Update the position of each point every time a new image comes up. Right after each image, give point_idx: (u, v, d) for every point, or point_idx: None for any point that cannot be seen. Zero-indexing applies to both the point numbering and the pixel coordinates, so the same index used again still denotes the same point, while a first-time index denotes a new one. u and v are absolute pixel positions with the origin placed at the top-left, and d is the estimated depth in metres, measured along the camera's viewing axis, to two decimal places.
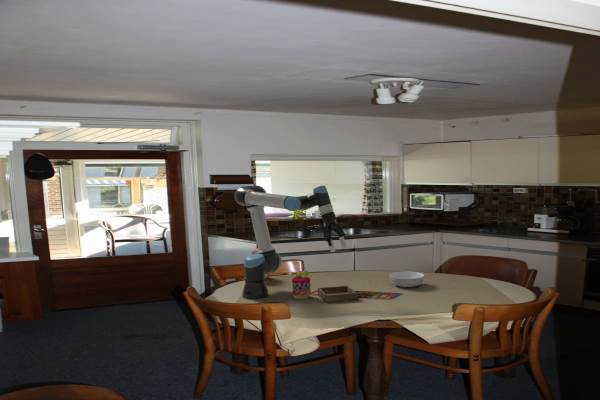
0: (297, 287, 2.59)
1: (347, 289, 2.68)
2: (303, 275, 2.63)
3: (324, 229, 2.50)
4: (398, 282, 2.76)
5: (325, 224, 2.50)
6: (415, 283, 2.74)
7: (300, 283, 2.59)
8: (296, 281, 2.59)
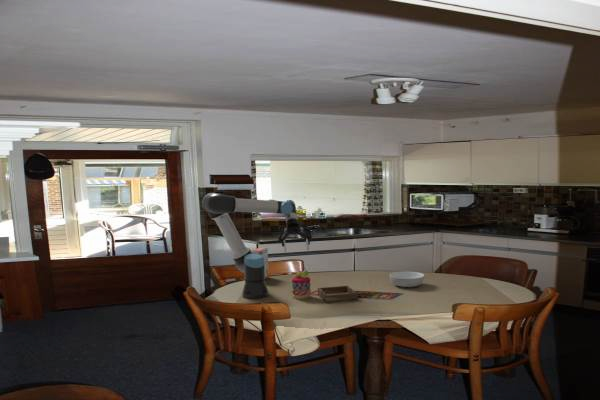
0: (297, 287, 2.59)
1: (347, 289, 2.68)
2: (303, 275, 2.63)
3: None
4: (398, 282, 2.76)
5: None
6: (415, 283, 2.74)
7: (300, 283, 2.59)
8: (296, 281, 2.59)
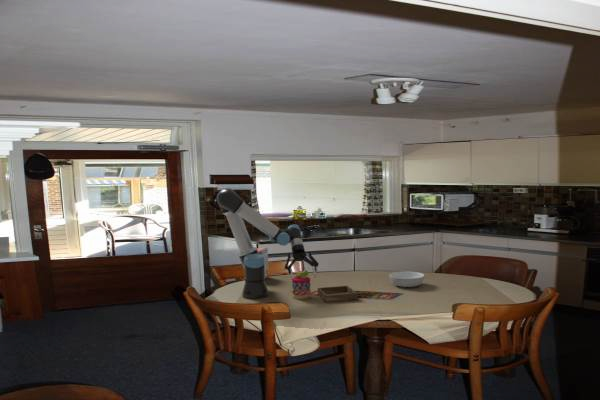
0: (297, 287, 2.59)
1: (347, 289, 2.68)
2: (303, 275, 2.63)
3: None
4: (398, 282, 2.76)
5: None
6: (415, 283, 2.74)
7: (300, 283, 2.58)
8: (296, 281, 2.59)
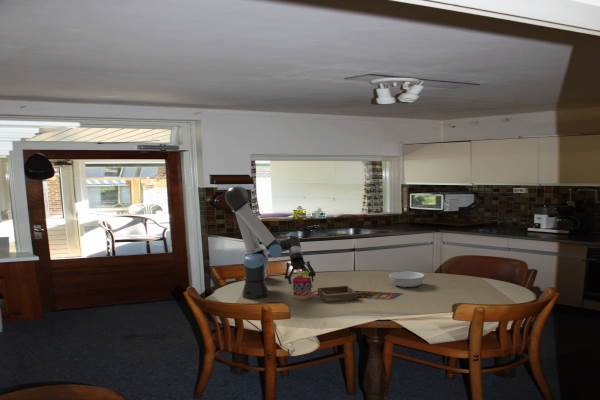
0: (299, 287, 2.58)
1: (347, 289, 2.68)
2: (304, 275, 2.62)
3: None
4: (398, 282, 2.76)
5: None
6: (415, 283, 2.74)
7: (302, 283, 2.58)
8: (298, 281, 2.58)
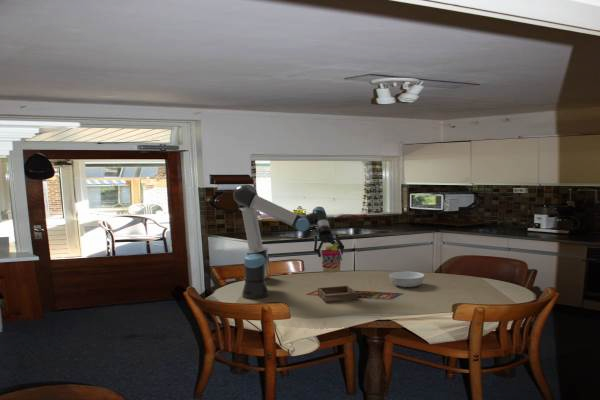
0: (329, 260, 2.55)
1: (347, 289, 2.68)
2: (333, 248, 2.59)
3: None
4: (398, 282, 2.76)
5: None
6: (415, 283, 2.74)
7: (332, 256, 2.54)
8: (328, 254, 2.55)
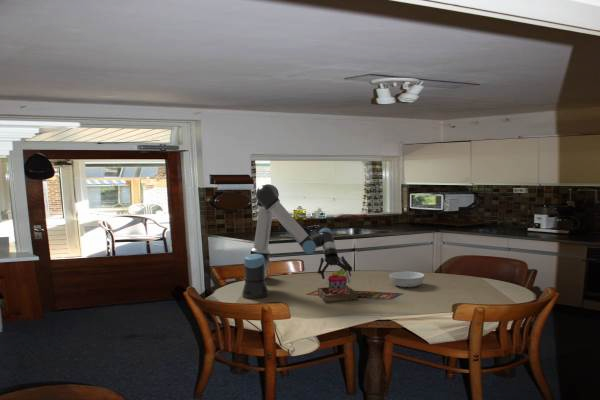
0: (335, 286, 2.55)
1: (347, 289, 2.68)
2: (339, 274, 2.59)
3: None
4: (398, 282, 2.76)
5: None
6: (415, 283, 2.74)
7: (339, 282, 2.55)
8: (334, 280, 2.55)
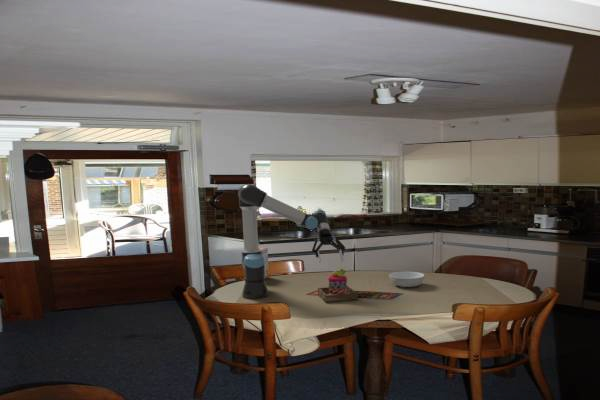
0: (335, 286, 2.55)
1: (347, 289, 2.68)
2: (339, 274, 2.59)
3: None
4: (398, 282, 2.76)
5: None
6: (415, 283, 2.74)
7: (339, 282, 2.55)
8: (334, 280, 2.55)
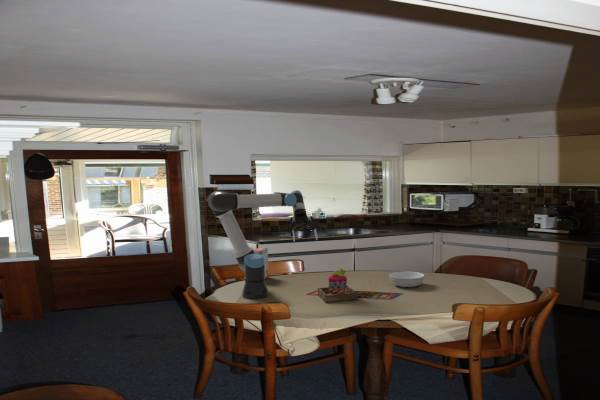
0: (335, 286, 2.55)
1: (347, 289, 2.68)
2: (339, 274, 2.59)
3: None
4: (398, 282, 2.76)
5: None
6: (415, 283, 2.74)
7: (339, 282, 2.55)
8: (334, 280, 2.55)
